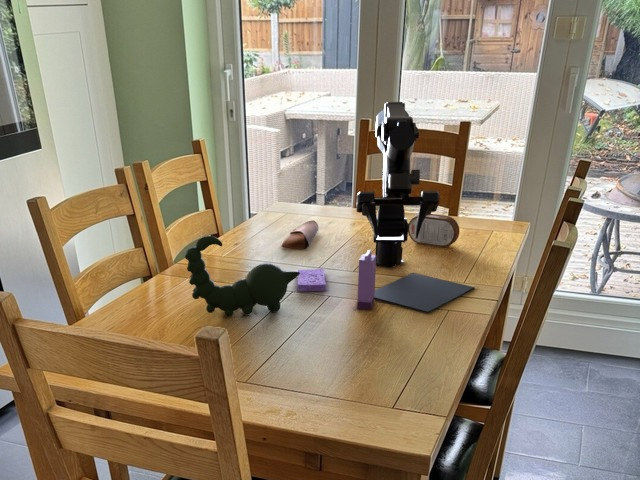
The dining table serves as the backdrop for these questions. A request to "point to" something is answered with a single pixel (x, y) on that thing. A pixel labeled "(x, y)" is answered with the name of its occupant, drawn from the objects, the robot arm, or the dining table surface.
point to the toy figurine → (237, 284)
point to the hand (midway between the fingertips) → (396, 238)
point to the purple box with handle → (366, 281)
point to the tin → (435, 230)
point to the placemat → (421, 292)
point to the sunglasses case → (301, 236)
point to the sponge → (311, 280)
